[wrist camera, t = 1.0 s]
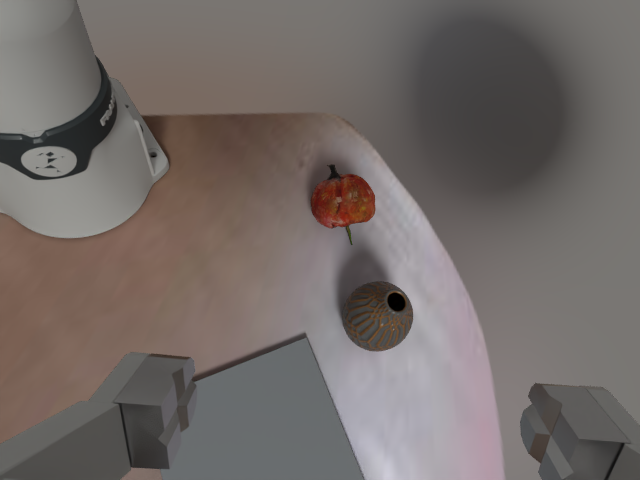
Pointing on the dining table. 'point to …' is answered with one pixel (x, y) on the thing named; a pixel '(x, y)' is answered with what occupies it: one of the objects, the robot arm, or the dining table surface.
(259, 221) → the dining table surface
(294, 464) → the mat
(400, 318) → the vase
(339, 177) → the pomegranate
